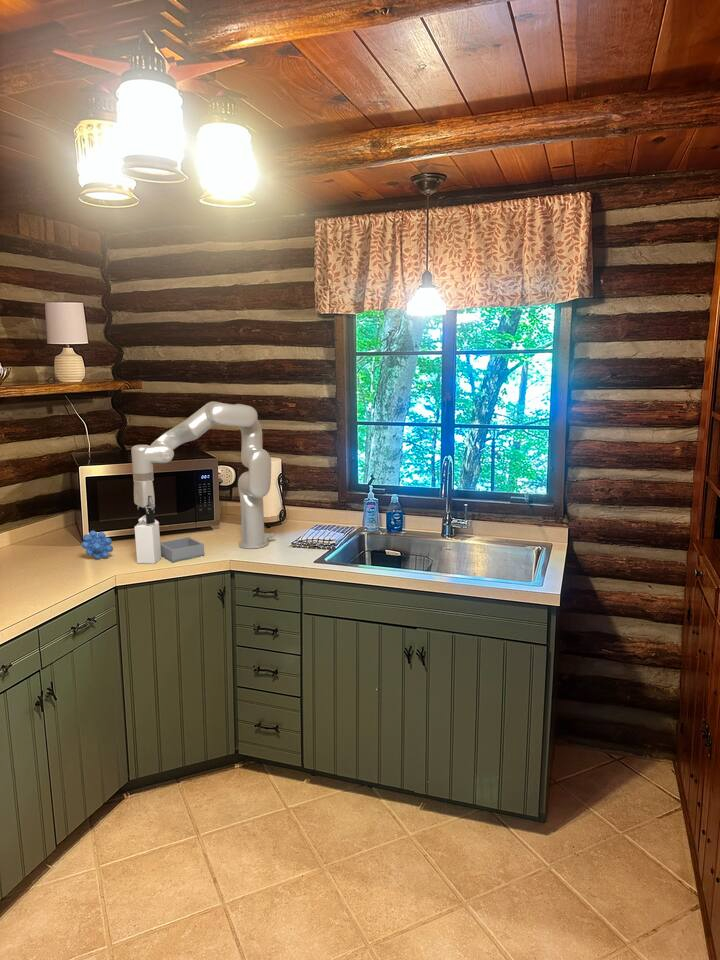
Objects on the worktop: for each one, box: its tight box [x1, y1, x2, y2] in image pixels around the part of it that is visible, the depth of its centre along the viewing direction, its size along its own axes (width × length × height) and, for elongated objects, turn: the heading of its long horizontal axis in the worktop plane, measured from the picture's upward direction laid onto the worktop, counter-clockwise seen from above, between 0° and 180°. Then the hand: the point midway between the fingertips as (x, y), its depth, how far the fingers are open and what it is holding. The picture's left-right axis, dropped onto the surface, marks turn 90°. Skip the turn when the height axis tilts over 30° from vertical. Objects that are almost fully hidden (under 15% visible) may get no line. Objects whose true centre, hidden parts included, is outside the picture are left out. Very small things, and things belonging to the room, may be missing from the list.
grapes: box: [81, 530, 114, 560], centre depth 274 cm, size 12×7×12 cm, turn 108°
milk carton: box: [134, 515, 162, 565], centre depth 271 cm, size 7×7×19 cm
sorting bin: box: [160, 536, 205, 563], centre depth 280 cm, size 14×14×5 cm
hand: (146, 520), depth 270 cm, fingers closed on milk carton, 7 cm apart
